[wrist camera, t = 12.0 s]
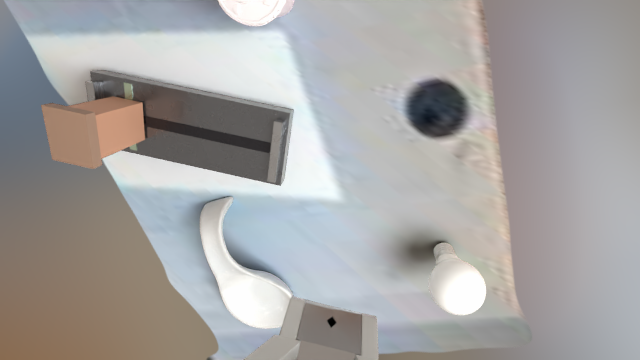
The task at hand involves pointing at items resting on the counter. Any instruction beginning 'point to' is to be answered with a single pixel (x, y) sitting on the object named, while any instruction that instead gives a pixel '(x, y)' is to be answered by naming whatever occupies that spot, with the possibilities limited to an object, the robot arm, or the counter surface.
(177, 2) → the counter surface
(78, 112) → the fader knob
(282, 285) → the spoon rest
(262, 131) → the fader track
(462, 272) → the lightbulb
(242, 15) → the smoothie
